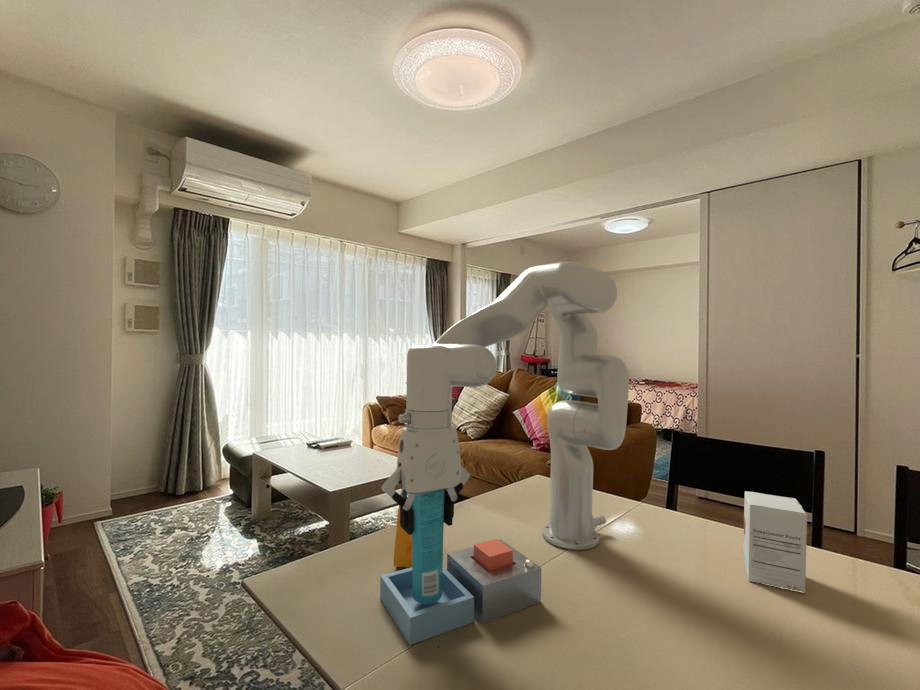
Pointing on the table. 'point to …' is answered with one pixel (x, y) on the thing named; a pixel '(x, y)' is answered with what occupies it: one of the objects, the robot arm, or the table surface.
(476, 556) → the button
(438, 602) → the blue open tray
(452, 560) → the box
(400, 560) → the bracket
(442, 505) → the tube
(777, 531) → the supplement box
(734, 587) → the table surface
